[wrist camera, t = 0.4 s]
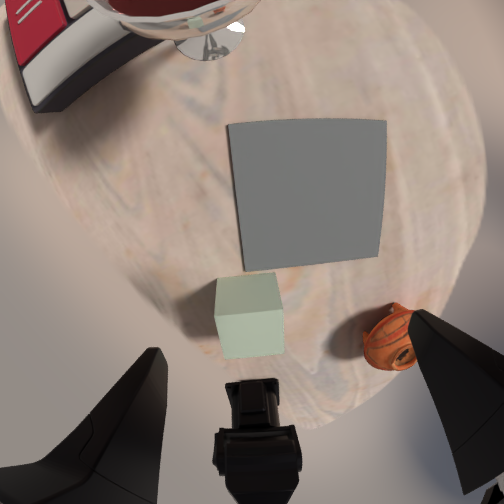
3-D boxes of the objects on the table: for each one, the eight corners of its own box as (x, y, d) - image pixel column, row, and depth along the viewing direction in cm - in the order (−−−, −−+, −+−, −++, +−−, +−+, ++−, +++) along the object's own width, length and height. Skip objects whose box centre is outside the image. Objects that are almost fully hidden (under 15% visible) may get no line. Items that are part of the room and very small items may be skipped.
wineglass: (191, 90, 17) (129, 66, 6) (144, 25, 14) (57, -36, 3) (275, 43, 15) (325, -30, 5) (226, -21, 12) (218, -120, 2)
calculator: (103, -84, 5) (159, 16, 11) (120, -64, 8) (175, 35, 15) (-1, -2, 6) (27, 117, 12) (25, 6, 10) (60, 114, 16)
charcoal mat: (376, 255, 24) (377, 256, 24) (245, 270, 24) (245, 272, 24) (385, 120, 18) (386, 120, 18) (228, 124, 18) (228, 124, 18)
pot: (364, 359, 31) (378, 396, 24) (347, 310, 29) (362, 346, 23) (420, 332, 29) (443, 364, 23) (410, 281, 27) (438, 309, 21)
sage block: (277, 314, 27) (284, 353, 22) (225, 320, 27) (224, 359, 22) (275, 271, 24) (283, 309, 20) (217, 277, 24) (213, 316, 20)
